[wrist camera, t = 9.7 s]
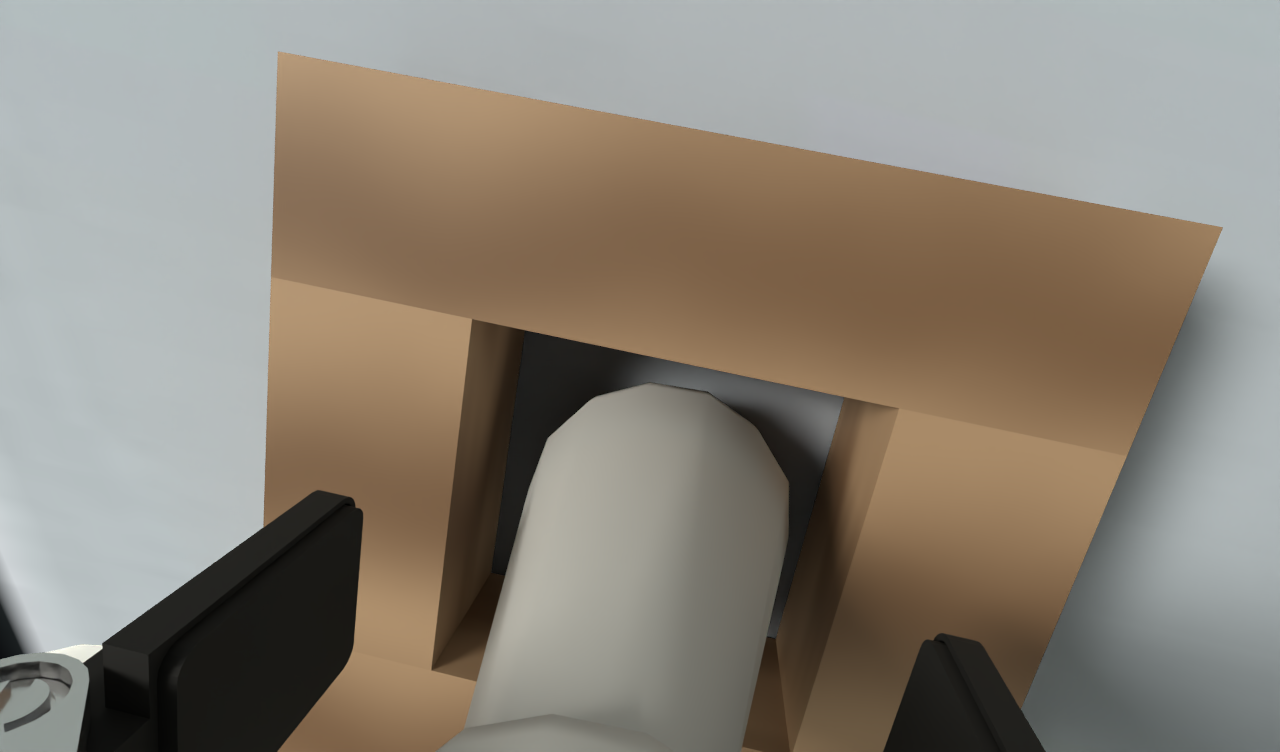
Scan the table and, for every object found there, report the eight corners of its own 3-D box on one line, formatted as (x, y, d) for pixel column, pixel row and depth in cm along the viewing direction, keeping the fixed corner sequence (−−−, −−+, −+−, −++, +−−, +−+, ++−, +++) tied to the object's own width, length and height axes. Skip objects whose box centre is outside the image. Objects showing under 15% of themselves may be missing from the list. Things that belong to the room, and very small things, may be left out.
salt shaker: (803, 383, 16) (1085, 1010, 4) (757, 588, 18) (843, 1524, 5) (568, 342, 17) (94, 777, 4) (543, 546, 18) (144, 1314, 6)
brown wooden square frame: (387, 88, 15) (277, 51, 12) (1089, 220, 14) (1223, 227, 11) (346, 658, 20) (256, 768, 16) (881, 789, 19) (923, 941, 15)
